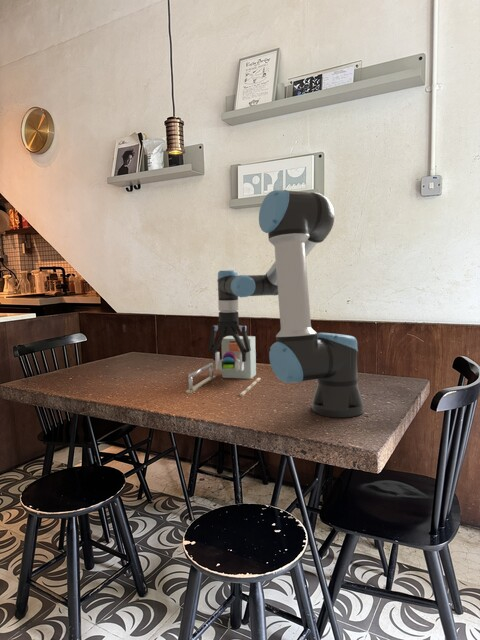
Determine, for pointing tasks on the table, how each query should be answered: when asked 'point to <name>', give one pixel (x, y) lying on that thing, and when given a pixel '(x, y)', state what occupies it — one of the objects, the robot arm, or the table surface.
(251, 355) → the cabinet
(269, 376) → the table surface
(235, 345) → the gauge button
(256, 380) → the cream square stick
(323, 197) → the robot arm
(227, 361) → the rainbow petal baby toy
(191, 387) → the handrail
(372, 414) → the table surface
